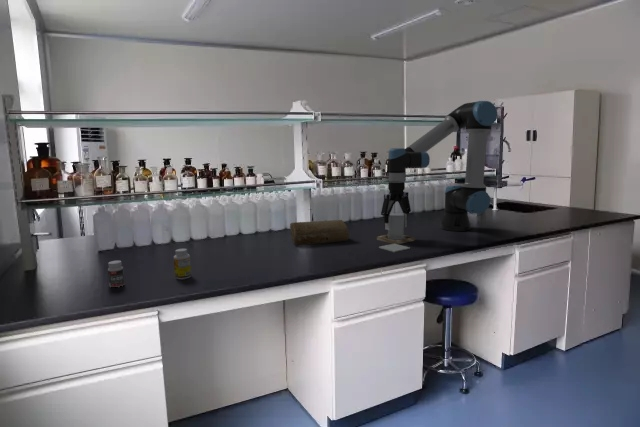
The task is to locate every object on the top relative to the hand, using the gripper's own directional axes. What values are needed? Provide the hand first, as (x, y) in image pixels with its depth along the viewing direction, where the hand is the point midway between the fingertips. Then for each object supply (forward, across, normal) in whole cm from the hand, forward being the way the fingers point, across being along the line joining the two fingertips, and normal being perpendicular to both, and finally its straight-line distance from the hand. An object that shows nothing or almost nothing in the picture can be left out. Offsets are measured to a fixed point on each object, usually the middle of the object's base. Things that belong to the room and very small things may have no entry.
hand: (395, 228), depth 202 cm
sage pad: (+6, +12, +11) cm, 17 cm away
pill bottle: (+6, +120, -11) cm, 121 cm away
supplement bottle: (+6, +100, -6) cm, 100 cm away
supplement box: (+6, 0, 0) cm, 6 cm away
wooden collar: (+6, 0, 0) cm, 6 cm away
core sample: (+6, +30, -21) cm, 37 cm away
